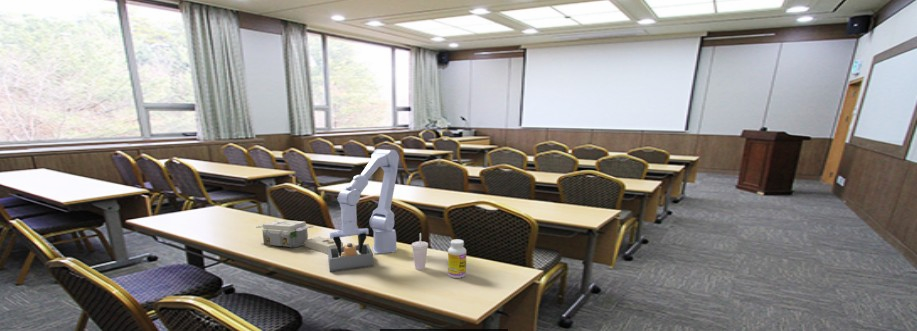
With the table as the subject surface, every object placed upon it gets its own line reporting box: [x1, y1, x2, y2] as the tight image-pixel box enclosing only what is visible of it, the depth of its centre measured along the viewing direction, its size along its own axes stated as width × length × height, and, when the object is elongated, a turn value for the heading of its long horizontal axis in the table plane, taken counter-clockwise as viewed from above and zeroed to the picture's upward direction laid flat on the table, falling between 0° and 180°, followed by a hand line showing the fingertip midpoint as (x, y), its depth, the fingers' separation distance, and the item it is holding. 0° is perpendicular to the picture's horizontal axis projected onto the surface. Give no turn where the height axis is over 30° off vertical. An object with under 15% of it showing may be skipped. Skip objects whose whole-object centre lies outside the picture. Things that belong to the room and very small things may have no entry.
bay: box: [327, 243, 374, 273], centre depth 149 cm, size 16×13×5 cm
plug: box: [343, 242, 356, 257], centre depth 149 cm, size 4×4×7 cm
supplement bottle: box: [447, 238, 467, 279], centre depth 138 cm, size 7×7×13 cm
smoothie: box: [411, 232, 429, 271], centre depth 144 cm, size 6×6×14 cm
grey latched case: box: [255, 219, 315, 248], centre depth 172 cm, size 12×28×10 cm, turn 65°
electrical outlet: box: [304, 236, 344, 255], centre depth 167 cm, size 7×4×18 cm
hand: (350, 253), depth 149 cm, fingers open, 7 cm apart
